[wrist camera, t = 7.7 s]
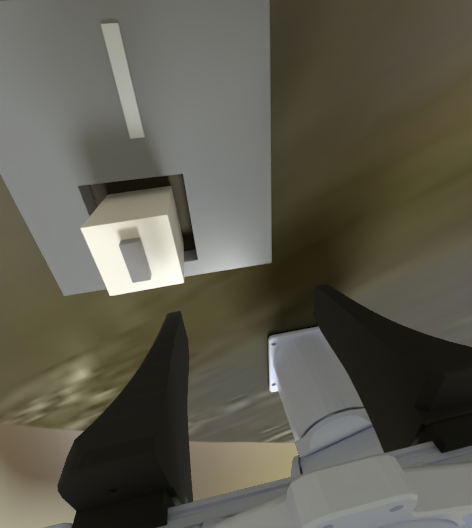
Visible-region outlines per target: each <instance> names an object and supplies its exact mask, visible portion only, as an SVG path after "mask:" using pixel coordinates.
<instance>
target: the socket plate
mask: <svg viewBox="0 0 472 528" xmlns="http://www.w3.org/2000/svg"><path fill="white" fill-rule="evenodd" d="M0 174H1V176H2V178H3V180H4V182H5V184H6V186H7V188H8V189H9V191H10V193H11V195H12V197H13V199H14V201H15V203H16V205H17V207H18V209H19V210H20V212H21V214H22V216H23V218H24V220H25V222H26V224H27V226H28V228H29V230H30V231H31V233H32V235H33V237H34V239H35V241H36V243H37V245H38V247H39V249H40V251H41V252H42V254H43V256H44V258H45V260H46V262H47V264H48V266H49V268H50V270H51V272H52V274H53V275H54V277H55V279H56V281H57V283H58V285H59V287H60V289H61V291H62V293H63V295H64V296H66V295H73V294H79V293H85V292H91V291H98V290H104V289H107V288H106V285H105V283H104V281H103V279H102V276H101V274H100V272H99V270H98V267H97V265H96V263H95V260H94V258H93V256H92V254H91V251H90V249H89V247H88V244H87V242H86V240H85V238H84V235H83V233H82V231H81V229H80V228H81V227H82V225H83V224H84V223H85V222H86V221H87V219H88V218H89V217H90V216H91V215H92V213H93V212H94V211H95V210H96V208H97V207H96V204H95V201H94V198H93V196H92V193H91V190H90V187H89V185H91V184H99V183H108V182H116V181H125V180H133V179H142V178H150V177H159V176H167V175H176V174H183V177H184V183H185V189H186V194H187V200H188V206H189V211H190V217H191V223H192V229H193V234H194V240H195V246H196V249H194V250H188V251H184V277H185V276H191V275H198V274H204V273H210V272H216V271H223V270H229V269H235V268H241V267H248V266H254V265H260V264H266V263H272V238H271V107H270V0H5V1H0Z"/></svg>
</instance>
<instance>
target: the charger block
mask: <svg viewBox="0 0 472 528" xmlns="http://www.w3.org/2000/svg"><path fill="white" fill-rule="evenodd" d="M80 229H81V231H82V233H83V235H84V238H85V240H86V242H87V244H88V247H89V249H90V251H91V254H92V256H93V258H94V260H95V263H96V265H97V267H98V270H99V272H100V274H101V276H102V279H103V281H104V283H105V285H106V288H107V290H108V292H109V295H110V296H113V295H119V294H124V293H130V292H136V291H141V290H147V289H152V288H158V287H163V286H169V285H175V284H180V283H184V241H183V236H182V232H181V227H180V223H179V218H178V214H177V209H176V205H175V200H174V196H173V191H172V187H171V186H165V187H158V188H151V189H144V190H137V191H130V192H123V193H116V194H109V195H107V196H106V197H105V199H104V200H103V201H102V202H101V204H100V205H99V206H98V207H97V208H96V210H95V211H94V212H93V213H92V215H91V216H90V217H89V218H88V219H87V221H86V222H85V223H84V224H83V225H82V227H81V228H80Z"/></svg>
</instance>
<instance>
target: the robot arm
mask: <svg viewBox="0 0 472 528" xmlns="http://www.w3.org/2000/svg"><path fill="white" fill-rule="evenodd" d="M314 317H315V320H316V322H317V324H318V327H313V328H308V329H302V330H297V331H292V332H287V333H281V334H276V335H272V336H270V337H269V338H268V358H269V389H270V391H271V392H275V391H279V394H280V397H281V400H282V403H283V406H284V409H285V412H286V415H287V418H288V421H289V424H290V427H291V430H292V433H293V435H294V438H295V440H296V442H295V445H296V448H297V451H298V454H299V455H298V456H295V457H294V458H293V461H292V468H291V477H288V478H285V479H281V480H277V481H273V482H269V483H265V484H261V485H257V486H253V487H249V488H245V489H241V490H237V491H233V492H229V493H226V494H222V495H218V496H214V497H210V498H206V499H202V500H198V501H194V502H193V494H192V481H191V468H190V452H189V435H188V416H187V395H188V374H189V349H188V338H187V335H186V331H185V327H184V323H183V319H182V315H181V312H180V311H178V312H172V313H168V314H167V315H166V318H165V321H164V323H163V325H162V328H161V330H160V332H159V334H158V336H157V338H156V340H155V342H154V344H153V346H152V348H151V349H150V351H149V353H148V354H147V356H146V358H145V360H144V361H143V363H142V364H141V366H140V367H139V369H138V370H137V372H136V373H135V375H134V376H133V377H132V379H131V380H130V381H129V383H128V384H127V385H126V387H125V388H124V389H123V391H122V392H121V393H120V394H119V395H118V397H117V398H116V399H115V400H114V401H113V402H112V403H111V404H110V406H109V407H108V408H107V409H106V410H105V411H104V412H103V413H102V414H101V415H100V416H99V417H98V418H97V419H96V420H95V421H94V422H93V423H92V424H91V425H90V426H89V427H88V428H87V429H86V430H85V431H84V432H83V433H82V434H81V435H80V436H78V437H77V438H76V439H75V440H74V443H73V445H72V447H71V449H70V452H69V454H68V456H67V459H66V462H65V465H64V468H63V471H62V474H61V477H60V480H59V483H58V492H59V493H60V495H61V496H62V498H63V499H65V501H67V502H68V503H69V504H70V505H71V506H72V507H73V508H74V509H75V510H76V515H75V518H74V522H73V524H71V523H62V524H57V525H53V526H49V527H45V528H472V347H469V346H465V345H461V344H457V343H453V342H449V341H446V340H443V339H439V338H436V337H433V336H430V335H427V334H424V333H421V332H418V331H416V330H413V329H410V328H408V327H405V326H403V325H400V324H398V323H396V322H393V321H391V320H389V319H387V318H385V317H383V316H381V315H379V314H377V313H375V312H373V311H371V310H369V309H367V308H366V307H364V306H362V305H360V304H358V303H357V302H355V301H353V300H352V299H350V298H348V297H347V296H345V295H344V294H342V293H340V292H339V291H337V290H335V289H334V288H332V287H330V286H329V285H327V284H326V285H321V286H316V292H315V304H314Z"/></svg>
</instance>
